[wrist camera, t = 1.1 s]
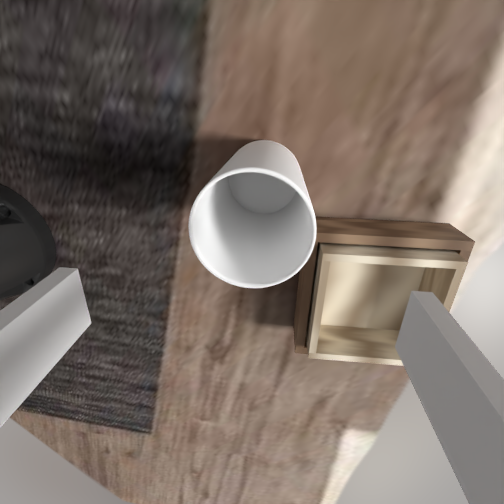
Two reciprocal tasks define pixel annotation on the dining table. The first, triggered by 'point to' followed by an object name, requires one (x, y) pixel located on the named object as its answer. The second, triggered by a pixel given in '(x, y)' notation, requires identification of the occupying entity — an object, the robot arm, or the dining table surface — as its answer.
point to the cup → (254, 218)
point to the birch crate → (372, 297)
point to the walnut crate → (371, 235)
